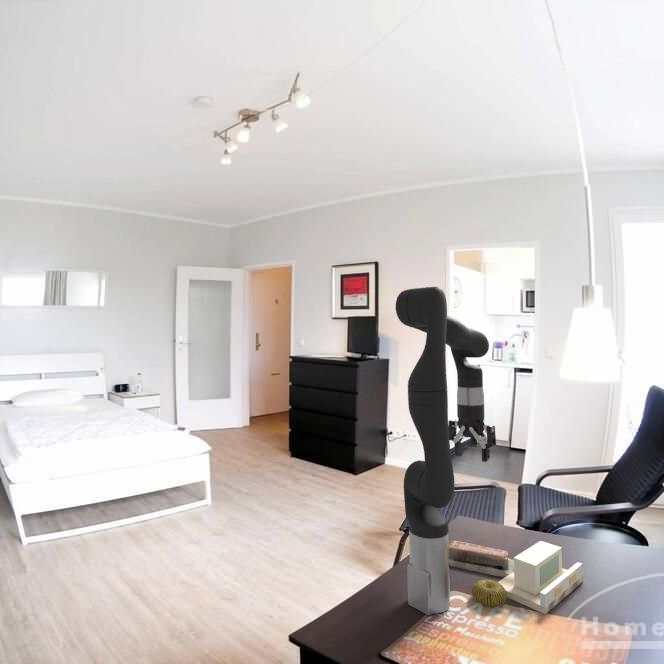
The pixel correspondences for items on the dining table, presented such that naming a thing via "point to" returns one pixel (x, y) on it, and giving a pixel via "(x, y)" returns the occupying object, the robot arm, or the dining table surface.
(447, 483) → the robot arm
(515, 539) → the dining table surface
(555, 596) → the rail
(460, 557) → the packaged product
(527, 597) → the shelf board
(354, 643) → the dining table surface
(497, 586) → the sculpture
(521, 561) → the carton
